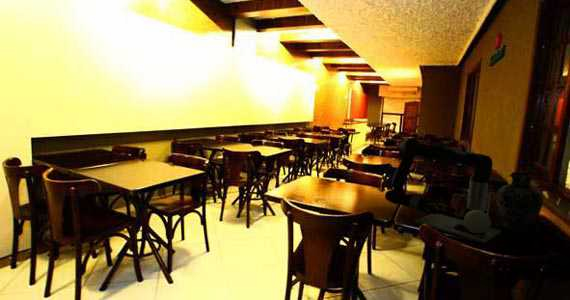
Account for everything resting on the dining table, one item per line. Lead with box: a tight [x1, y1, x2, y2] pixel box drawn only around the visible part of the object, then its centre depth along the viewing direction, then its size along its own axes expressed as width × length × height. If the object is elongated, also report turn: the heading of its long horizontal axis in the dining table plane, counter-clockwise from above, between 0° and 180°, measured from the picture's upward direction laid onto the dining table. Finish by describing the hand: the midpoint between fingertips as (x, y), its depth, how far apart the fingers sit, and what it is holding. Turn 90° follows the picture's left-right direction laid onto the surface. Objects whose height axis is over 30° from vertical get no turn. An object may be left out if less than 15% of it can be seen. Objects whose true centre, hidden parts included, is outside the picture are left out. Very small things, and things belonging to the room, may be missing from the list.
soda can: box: [450, 192, 467, 218], centre depth 176 cm, size 7×7×12 cm
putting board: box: [414, 191, 503, 243], centre depth 156 cm, size 32×22×19 cm
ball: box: [463, 210, 492, 235], centre depth 150 cm, size 11×11×11 cm
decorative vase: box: [495, 171, 544, 232], centre depth 159 cm, size 21×19×28 cm
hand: (451, 212), depth 159 cm, fingers open, 8 cm apart
